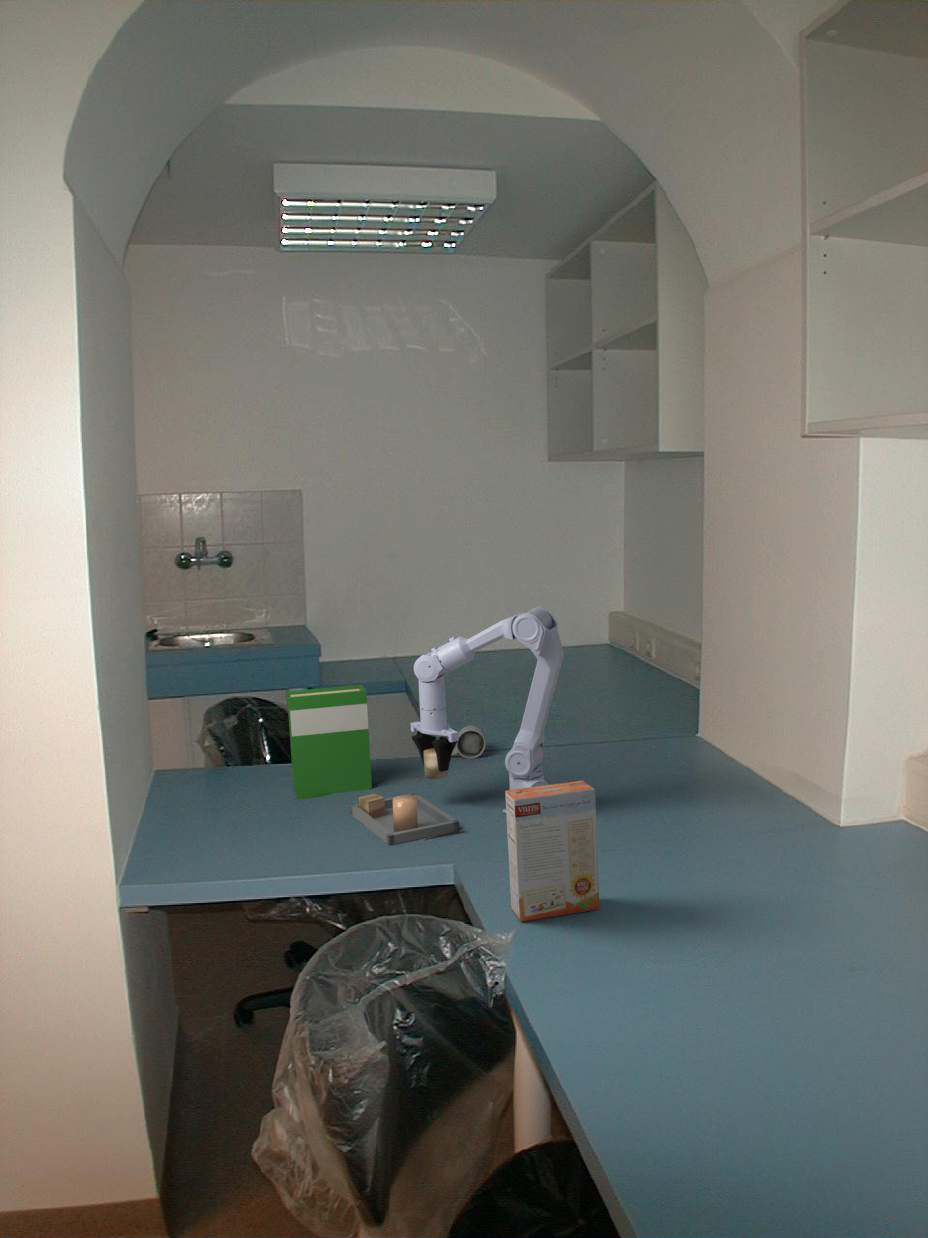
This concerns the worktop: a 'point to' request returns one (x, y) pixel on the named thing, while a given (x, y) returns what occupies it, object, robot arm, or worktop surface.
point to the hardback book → (329, 741)
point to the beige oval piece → (432, 765)
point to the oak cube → (372, 805)
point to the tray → (428, 825)
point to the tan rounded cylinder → (405, 813)
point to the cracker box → (552, 850)
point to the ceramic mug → (470, 743)
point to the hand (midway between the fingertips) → (435, 768)
